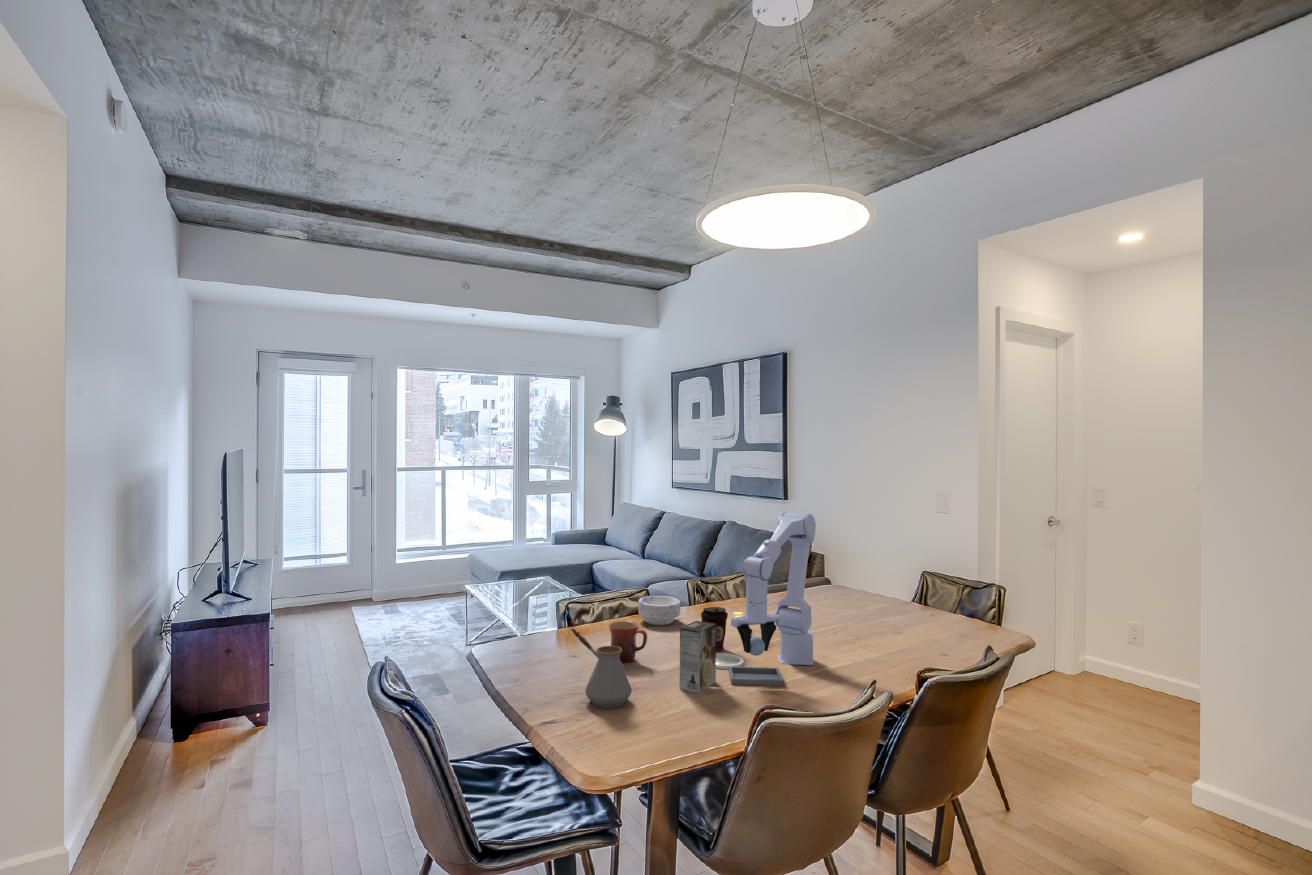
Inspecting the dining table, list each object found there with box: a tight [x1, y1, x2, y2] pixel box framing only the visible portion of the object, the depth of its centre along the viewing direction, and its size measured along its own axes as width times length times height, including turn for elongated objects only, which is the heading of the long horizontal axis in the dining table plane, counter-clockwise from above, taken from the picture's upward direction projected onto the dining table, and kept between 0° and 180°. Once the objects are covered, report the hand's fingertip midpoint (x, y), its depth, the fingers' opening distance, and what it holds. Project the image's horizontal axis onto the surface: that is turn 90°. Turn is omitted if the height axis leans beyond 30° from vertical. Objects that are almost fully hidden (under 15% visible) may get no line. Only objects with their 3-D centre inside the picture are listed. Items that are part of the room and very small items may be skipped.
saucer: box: [716, 652, 745, 670], centre depth 191 cm, size 12×12×1 cm
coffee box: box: [679, 620, 717, 694], centre depth 173 cm, size 9×6×16 cm
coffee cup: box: [700, 606, 729, 653], centre depth 203 cm, size 9×8×13 cm
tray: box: [727, 666, 785, 687], centre depth 178 cm, size 14×10×2 cm
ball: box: [749, 636, 765, 657], centre depth 178 cm, size 5×5×5 cm
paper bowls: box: [638, 595, 681, 626], centre depth 236 cm, size 15×15×8 cm
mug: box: [608, 620, 648, 664], centre depth 192 cm, size 12×9×10 cm
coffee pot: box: [568, 628, 633, 709], centre depth 165 cm, size 21×12×15 cm, turn 45°
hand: (755, 650), depth 178 cm, fingers closed on ball, 5 cm apart
